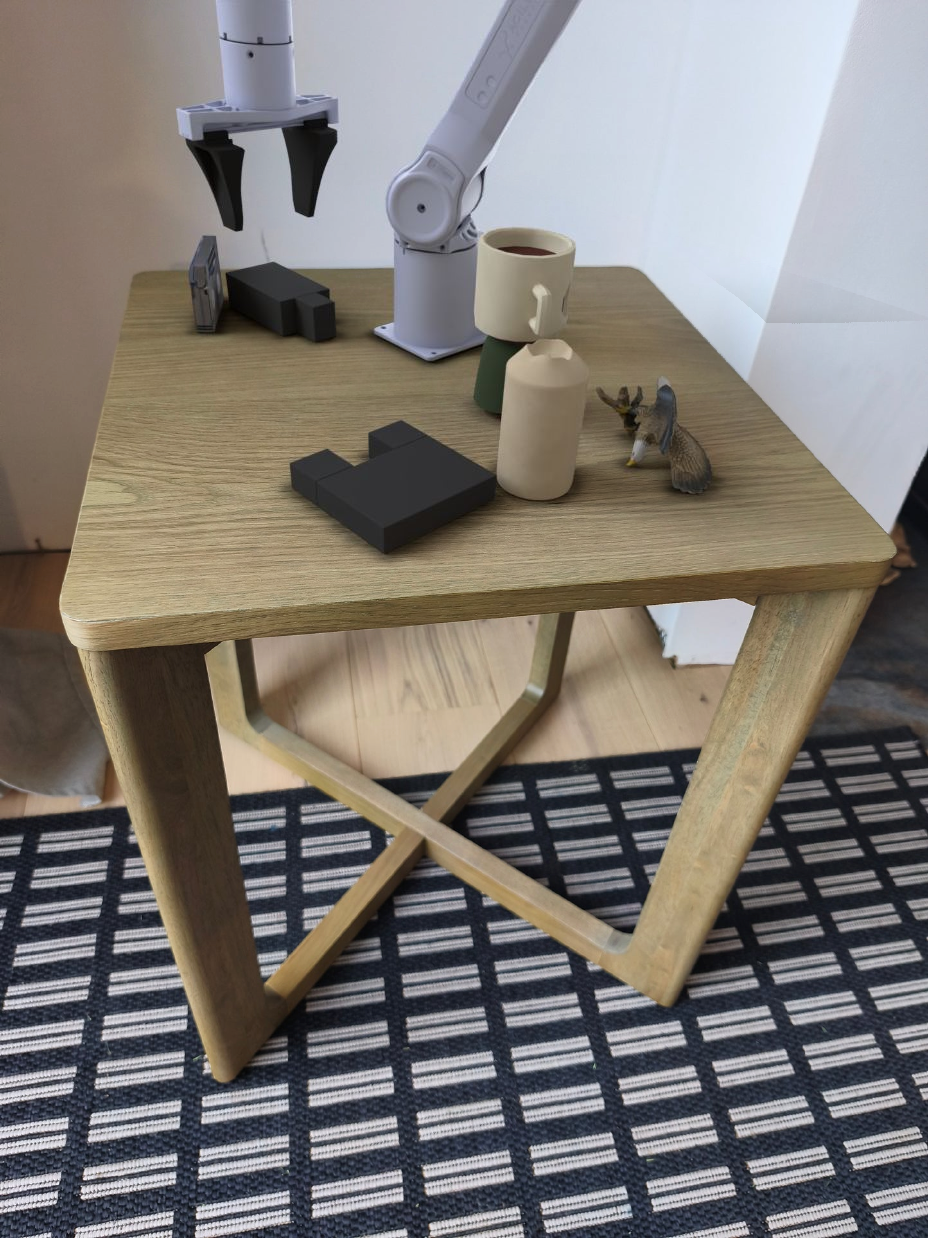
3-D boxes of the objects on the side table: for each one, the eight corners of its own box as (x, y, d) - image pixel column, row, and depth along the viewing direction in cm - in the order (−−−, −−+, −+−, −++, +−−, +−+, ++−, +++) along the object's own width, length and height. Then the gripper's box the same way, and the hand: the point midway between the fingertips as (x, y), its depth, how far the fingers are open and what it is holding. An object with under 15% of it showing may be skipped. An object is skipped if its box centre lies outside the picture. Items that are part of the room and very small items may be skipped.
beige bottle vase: (567, 506, 59) (589, 370, 53) (489, 494, 60) (501, 358, 53) (575, 467, 63) (597, 335, 57) (502, 455, 64) (515, 325, 58)
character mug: (574, 435, 67) (600, 265, 59) (486, 442, 65) (501, 268, 57) (532, 374, 75) (550, 217, 66) (453, 379, 73) (461, 218, 65)
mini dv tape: (208, 298, 84) (199, 234, 80) (223, 299, 84) (215, 235, 80) (197, 332, 78) (186, 265, 74) (214, 332, 78) (204, 265, 74)
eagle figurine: (569, 436, 64) (648, 473, 58) (614, 347, 63) (701, 374, 56) (632, 470, 69) (712, 507, 63) (675, 388, 68) (762, 417, 61)
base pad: (384, 554, 54) (384, 528, 53) (291, 488, 59) (289, 462, 58) (495, 499, 59) (497, 474, 58) (401, 443, 65) (401, 419, 63)
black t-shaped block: (301, 346, 77) (298, 311, 75) (229, 306, 83) (224, 272, 81) (349, 332, 80) (348, 297, 78) (276, 293, 86) (273, 261, 84)
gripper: (300, 27, 74) (308, 197, 83) (146, 34, 65) (172, 221, 74) (353, 41, 70) (354, 217, 79) (196, 49, 62) (218, 244, 71)
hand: (269, 220), depth 76 cm, fingers open, 7 cm apart
